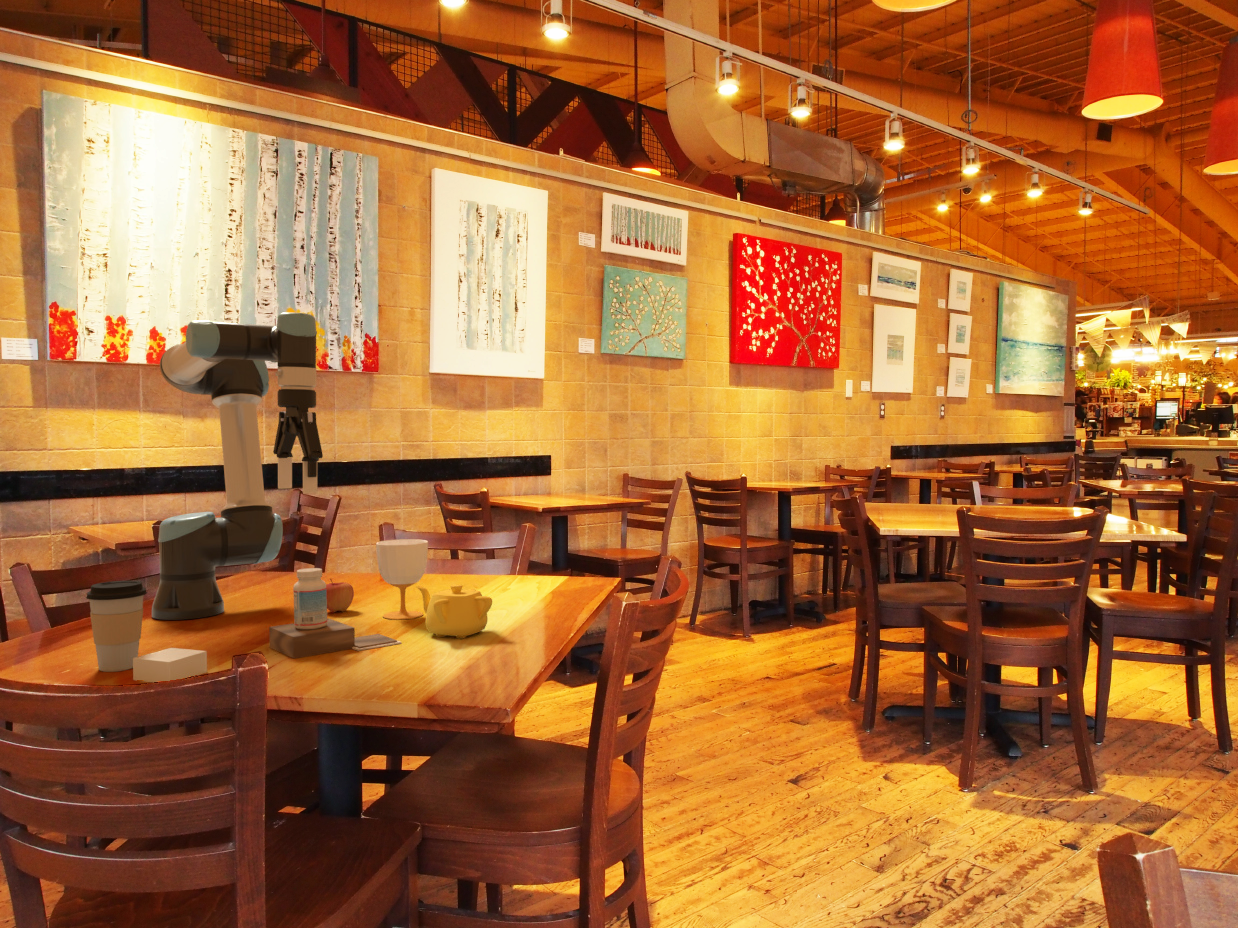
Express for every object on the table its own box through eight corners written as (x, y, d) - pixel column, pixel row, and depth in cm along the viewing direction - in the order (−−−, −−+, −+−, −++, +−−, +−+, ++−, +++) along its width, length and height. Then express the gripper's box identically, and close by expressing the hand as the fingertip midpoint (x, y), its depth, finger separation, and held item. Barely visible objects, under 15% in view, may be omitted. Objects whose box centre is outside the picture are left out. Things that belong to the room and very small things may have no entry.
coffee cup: (104, 661, 160) (102, 580, 160) (157, 660, 161) (156, 579, 161) (76, 675, 151) (74, 588, 151) (133, 673, 152) (131, 588, 151)
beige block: (133, 681, 148) (132, 658, 148) (172, 669, 156) (171, 647, 156) (169, 685, 145) (169, 661, 145) (207, 673, 153) (206, 651, 153)
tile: (337, 642, 175) (337, 639, 175) (380, 635, 181) (379, 632, 181) (357, 650, 168) (357, 647, 168) (401, 643, 174) (401, 640, 174)
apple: (358, 612, 205) (357, 578, 205) (326, 616, 201) (326, 581, 201) (348, 607, 212) (348, 574, 211) (317, 610, 207) (317, 577, 207)
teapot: (426, 643, 174) (425, 592, 174) (416, 630, 186) (415, 582, 185) (493, 637, 179) (493, 587, 179) (479, 625, 191) (479, 578, 191)
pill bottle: (333, 624, 172) (332, 568, 172) (312, 631, 167) (311, 572, 166) (308, 622, 175) (307, 566, 174) (287, 629, 169) (286, 571, 168)
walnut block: (269, 647, 171) (269, 626, 171) (328, 637, 179) (328, 618, 179) (293, 658, 162) (293, 636, 162) (354, 647, 170) (354, 627, 170)
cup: (365, 618, 198) (364, 543, 198) (397, 609, 209) (396, 538, 208) (409, 622, 194) (408, 546, 193) (439, 612, 204) (438, 540, 204)
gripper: (257, 388, 188) (257, 487, 189) (302, 387, 169) (302, 496, 170) (292, 389, 193) (292, 485, 194) (339, 388, 174) (339, 494, 175)
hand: (297, 491), depth 182 cm, fingers open, 13 cm apart
